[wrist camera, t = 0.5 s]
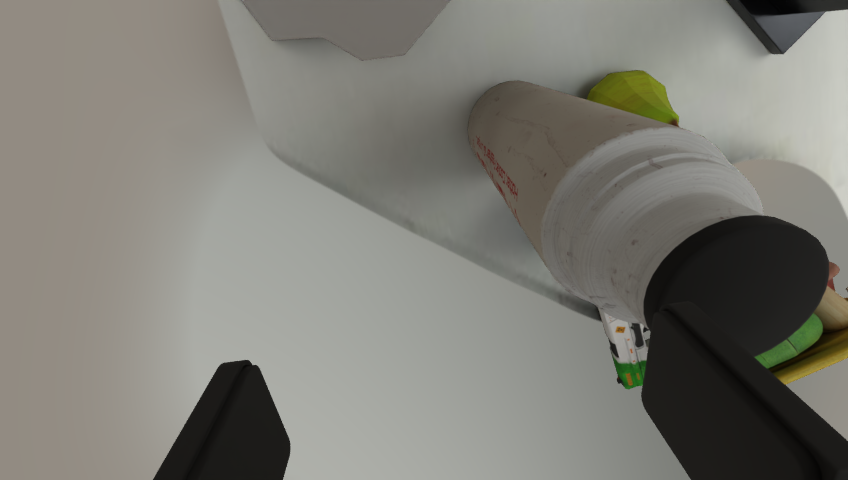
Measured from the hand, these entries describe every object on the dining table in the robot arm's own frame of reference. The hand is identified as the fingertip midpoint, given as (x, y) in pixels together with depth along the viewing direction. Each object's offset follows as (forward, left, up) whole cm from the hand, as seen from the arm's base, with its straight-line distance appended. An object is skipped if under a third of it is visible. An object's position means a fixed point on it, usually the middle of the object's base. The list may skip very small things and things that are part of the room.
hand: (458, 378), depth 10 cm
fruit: (-1, +17, -30) cm, 35 cm away
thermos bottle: (0, +8, -30) cm, 31 cm away
